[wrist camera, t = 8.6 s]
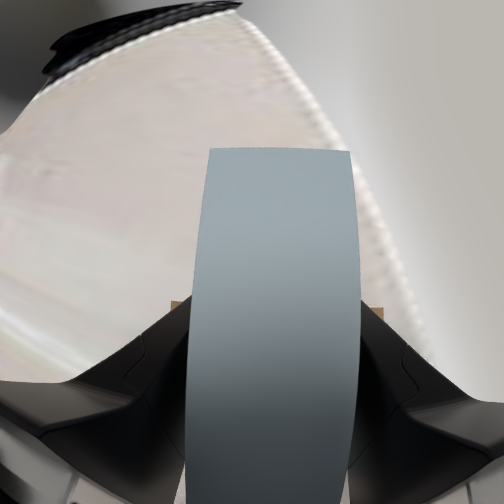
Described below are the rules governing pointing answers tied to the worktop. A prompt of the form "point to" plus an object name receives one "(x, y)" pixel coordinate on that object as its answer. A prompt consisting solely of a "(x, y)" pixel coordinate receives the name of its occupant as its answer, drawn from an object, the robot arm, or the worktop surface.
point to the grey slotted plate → (273, 329)
